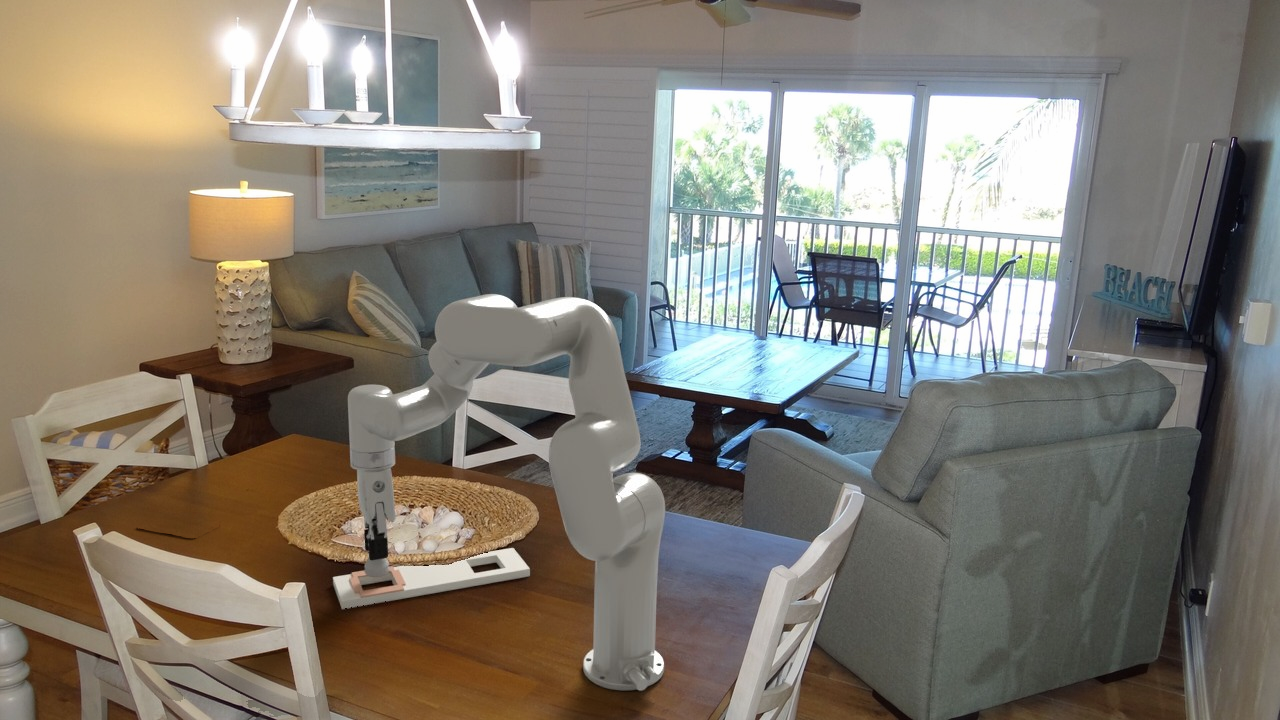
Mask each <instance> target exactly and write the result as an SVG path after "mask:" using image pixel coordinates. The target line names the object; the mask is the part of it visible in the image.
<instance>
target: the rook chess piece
mask: <svg viewBox="0 0 1280 720" xmlns="http://www.w3.org/2000/svg"><path fill="white" fill-rule="evenodd" d="M366 537H367V539H368V538H370V530H369V531H368V535H367V536H366ZM368 546H369V543H368ZM389 566H390V562H389V560H388V558H384V559H378V560H370V559H369V555H368V557H367V559H366V562H365V564H364V570H363V571H364V572H365V574H366V575H368V576H370V577H381V576H384V575H386V574H387V573H388V572H389V570H390V568H389Z"/></svg>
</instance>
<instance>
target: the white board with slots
mask: <svg viewBox="0 0 1280 720" xmlns="http://www.w3.org/2000/svg"><path fill="white" fill-rule="evenodd" d="M487 552H488V553H484V552H482V553H483V554H480V555H477V556H474V557H470V558H468V559H465V560H461V561H457V562H454V563H452V564H449V565H429V566H404V565H399V566H393V565H391V566H390V565H389V566H388V567H389V568H390V570H389V572H388V573H387V574H386V575H384V576H381V577H370V576H368V575H366V574H365V572H364V570H359V571H354V572H353V571H352V572H351V573H350V574H344V575H338V576H333V577H332V584H333V588H334V591H335V594H336V596H337V599H338V602H339V604H340V607H341V610H346V609H345V608H347V609H351V607H352V608H357V606H358V607H364V606H368V605H375V604H381V603H386V602H391V601H392V602H393V601H396V600H397V601H398V600H402V599H407V598H414V597H419V596H424V595H425V596H426V595H430V594H436V593H442V592H447V591H453V590H459V589H465V588H470V587H475V586H482V585H487V584H493V583H498V582H499V583H500V582H504V581H510V580H516V579H521V578H527V577H531V569H530V567H529V566H528V565H527V563H526V562H525V560H524V559H523V558H522V557H521V555H520V554H519V553H518V552H517V551H516V550H515V548H514V547H509V548H503V549H499V550H497V549H496V550H492V551H487ZM495 563H496V564H497V565H498V566H499V568H496V569H491V570H486V571H480V572H474V570H473V568H472V567H477V566H482V565H489V564H495ZM388 581H392V585H389V586H383V587H378V588H372V589H366V590H363V587H362V586H363V585H370V584H375V583H380V582H381V583H382V582H388ZM385 601H386V602H385ZM374 603H375V604H374ZM363 605H364V606H363Z"/></svg>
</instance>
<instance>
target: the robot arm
mask: <svg viewBox="0 0 1280 720" xmlns="http://www.w3.org/2000/svg"><path fill="white" fill-rule="evenodd" d="M434 336H435V340H436V342H434V344H432V346H431V347H430V349H429V351H428V355H427V357H428V359H427V360H428V364H429V366H430V368H431V369H430V370H432V372H433V373H434V374H433V375H432V376H431V377H430V378H429V379H428V380H427V381H426V382H424V383H423V384H421V386H416V387H414V388H411V389H407V390H403V391H401V392H398V393H393V392H392V390H391V389H390V388H389V387H388V386H385V385H382V384H362V385H358V386H356V387H353V388H352V389H351V390H350V391H349V392H348V395H347V408H348V409H347V411H348V412H347V414H348V433H349V435H348V436H349V437H348V438H349V457H350V459H349V460H350V468H352V469H354V470H356V477H357V478H356V479H357V480H356V481H357V483H356V484H357V498H358V506H359V511H360V513H361V514H362V517H363V519H364V530H363V531H364V532H363V533H364V550H365V552H368V556H369V559H370V560H378V559H384V558H386V559H388V557H389V549H388V548H389V546H388V545H389V544H388V543H389V542H388V541H389V540H388V534H387V533H388V529H387V519H388V522H391V523H394V522H395V521H396V519H397V518H396V510H395V509H396V508H395V506H396V505H395V493H394V482H393V474H392V469H391V468H393V466H395V465H396V450H395V449H396V447H395V446H396V444H395V442H398V441H402V440H405V439H407V438H410V437H412V436H415V435H416V434H417V435H418V434H420V433H422V432H424V431H428V430H431V429H433V428H436V427H438V426H440V425H441V424H443V423H445V422H446V421H447V420H448V419H449V418H450V417H451V416H452V415H453V414H455V412H456V411H457V410H458V409H459V408H460V407H461V406H462V405H463V404H464V403H465V402H466V401H467V399H468V398H469V396H470V395H471V392H472V388H473V386H474V381H475V379H476V378H477V377H478V376H479V375H480V374H481V373H482V372H483V371H484V370H485V369H486V368H487V367H488V365H491V364H493V365H501V366H507V367H508V366H509V367H517V368H518V367H529V366H534V365H537V364H540V363H543V362H547V361H549V360H551V359H554V358H558V357H560V356H562V355H568V356H569V357H570V363H569V369H568V386H569V393H570V397H571V400H572V404H573V408H574V409H573V410H574V413H575V415H574V416H575V418H573V419H571V420H568V421H567V422H565V423H563V424H562V425H560V426H559V428H558V429H557V430H555V432H554V434H553V435H552V438H551V440H550V442H549V443H550V444H549V448H548V464H549V465H548V466H549V469H550V471H549V472H550V474H551V479H552V482H553V488H554V492H555V495H556V499H557V503H558V507H559V511H560V515H561V518H562V519H561V520H562V523H563V526H564V530H565V533H566V535H567V537H568V540H569V542H570V544H571V546H572V547H573V548H574V549H575V551H577V552H578V554H580V555H581V556H582V557H583V558H585V559H587V560H590V561H593V562H594V561H595V564H594V590H593V591H594V593H593V594H594V595H593V596H594V597H593V598H594V601H593V602H594V603H593V606H594V607H593V648H592V649H590V650H589V652H587V653H586V654H585V656H584V657H583V660H582V663H583V664H582V669H583V673H584V675H585V677H586V678H587V679H588V680H589V681H591V683H594V684H595V685H597V686H600V687H602V688H604V689H608V690H614V691H634V690H638V691H639V692H640V691H644V690H646V688H648V687H649V686H652V685H654V684H655V683H656V682H658V681H659V680H660V679H661V678H662V676H663V675H664V671H665V661H664V658H663V657H662V656H661V654H660V653H659V652H658V651H657V650H655V649H656V627H657V626H656V624H657V623H656V622H657V597H658V596H657V593H658V590H657V589H658V573H659V571H658V570H659V555H660V554H659V553H660V545H661V538H662V534H663V529H664V524H665V515H666V504H665V503H666V502H665V497H664V494H663V492H662V489H661V487H660V486H659V485H658V484H657V482H656V480H654V479H653V478H651V477H650V476H648V475H646V474H643V473H640V472H628V473H623V474H620V475H617V476H616V477H613V474H614V473H615V472H617V471H619V470H621V469H622V468H624V467H625V466H627V465H629V464H630V463H631V462H632V461H633V460H635V459H636V457H637V456H638V455H639V453H640V450H641V447H642V446H641V445H642V444H641V443H642V442H641V441H642V440H641V434H640V428H639V425H638V421H637V416H636V413H635V409H634V404H633V400H632V395H631V393H630V392H631V391H630V388H629V384H628V380H627V378H626V373H625V368H624V363H623V357H622V351H621V346H620V341H619V338H618V334H617V330H616V327H615V325H614V323H613V321H612V320H611V318H610V316H608V314H607V313H606V312H605V311H604V310H603V308H601V307H600V306H598V305H597V304H596V303H594V302H592V301H590V300H588V299H584V298H581V297H576V296H575V297H573V296H564V297H563V296H562V297H561V296H560V297H556V298H552V299H551V298H549V299H545V300H543V301H539V302H535V303H532V304H527V305H524V306H519V307H518V305H516V303H515V302H514V301H513V300H511V299H510V298H509V297H507V296H504V295H503V294H497V293H489V294H488V293H487V294H482V295H477V296H472V297H467V298H463V299H462V298H461V299H458V300H456V301H453V302H450V303H449V304H447V305H446V306H444V307H443V309H442V310H441V311H440V312H439V314H438V316H437V318H436V321H435V324H434ZM369 530H370V538H368V539H367V537H366V536H367V535H368V531H369ZM368 543H369V546H368Z"/></svg>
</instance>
